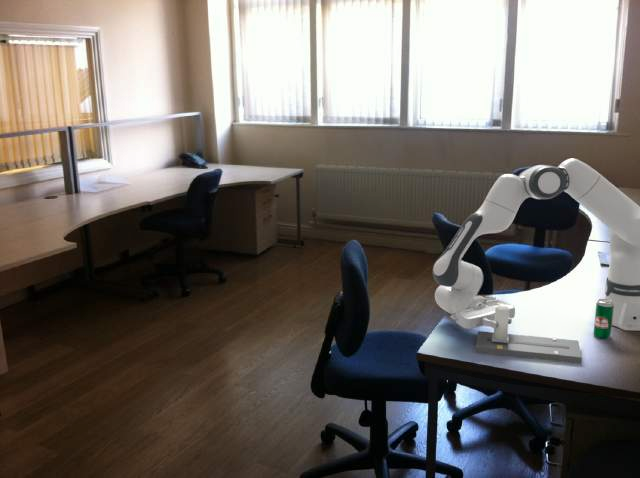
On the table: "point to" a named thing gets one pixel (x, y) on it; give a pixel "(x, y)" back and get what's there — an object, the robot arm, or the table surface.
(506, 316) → the fader knob
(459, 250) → the robot arm
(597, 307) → the soda can
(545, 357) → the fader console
